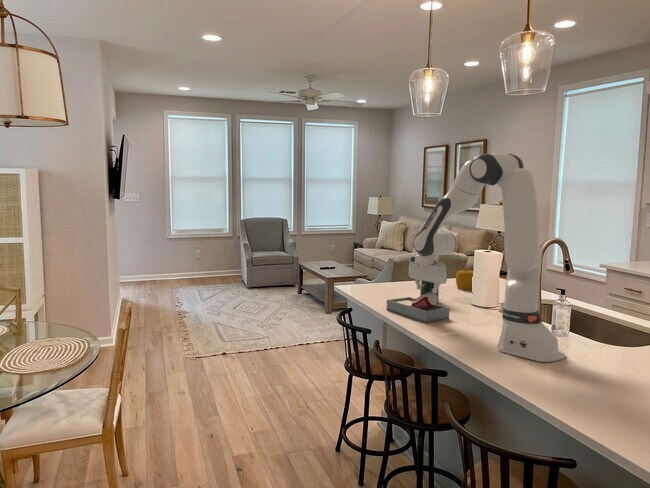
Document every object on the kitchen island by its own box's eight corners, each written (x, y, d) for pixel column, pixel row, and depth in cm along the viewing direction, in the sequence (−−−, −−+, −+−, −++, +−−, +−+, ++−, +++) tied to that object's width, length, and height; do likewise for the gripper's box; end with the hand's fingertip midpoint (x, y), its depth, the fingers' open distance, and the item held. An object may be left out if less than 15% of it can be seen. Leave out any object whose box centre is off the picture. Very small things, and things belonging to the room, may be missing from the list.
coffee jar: (440, 305, 239) (442, 267, 238) (425, 305, 238) (427, 267, 236) (432, 300, 249) (433, 264, 247) (417, 301, 247) (419, 264, 245)
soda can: (420, 316, 217) (437, 309, 207) (408, 307, 216) (425, 300, 206) (425, 304, 221) (442, 297, 211) (414, 295, 220) (430, 288, 210)
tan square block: (420, 310, 223) (421, 303, 223) (405, 312, 218) (405, 306, 218) (407, 306, 231) (407, 300, 230) (392, 308, 226) (392, 302, 226)
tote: (448, 319, 212) (449, 307, 211) (425, 323, 205) (426, 311, 204) (408, 307, 233) (409, 296, 233) (386, 310, 226) (386, 299, 226)
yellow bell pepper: (462, 289, 280) (463, 267, 279) (479, 292, 273) (480, 269, 271) (451, 291, 273) (452, 268, 272) (468, 295, 265) (469, 271, 264)
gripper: (450, 261, 205) (449, 294, 206) (417, 256, 222) (416, 286, 223) (439, 262, 201) (438, 296, 203) (406, 257, 219) (405, 288, 220)
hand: (426, 291), depth 213 cm, fingers open, 8 cm apart
